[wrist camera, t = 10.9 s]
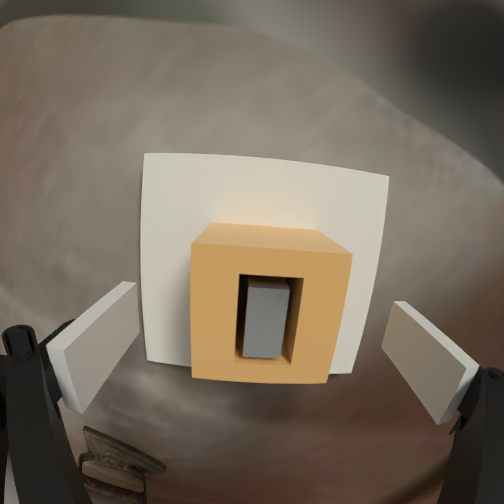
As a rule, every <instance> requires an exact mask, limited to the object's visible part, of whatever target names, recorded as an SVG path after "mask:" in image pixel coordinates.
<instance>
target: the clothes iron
mask: <svg viewBox="0 0 504 504" xmlns="http://www.w3.org/2000/svg"><path fill="white" fill-rule="evenodd" d="M83 431H84V435H85V440H86V443H87V446H88V450H89V453H82V454H80V456H79V461H78V470H79V473H80V475H81V478H82V480H83V483H84V485H85V487H86V488H88V489H90V490H93V491H96V492H99V493H101V494H104V495H107V496H111V497H114V498H117V499H120V500H123V501H127V502H130V503H134V504H146V499H147V495H146V482H145V476H144V475H157V474H160V473H163V471H165V470H166V466H165V465H163V464H162V463H161V462H159V461H158V460H156V459H154V458H153V457H151V456H149V455H147V454H145V453H143V452H141V451H139V450H137V449H135V448H134V447H131V446H129V445H127V444H125V443H123V442H121V441H119V440H117V439H114V438H112V437H110V436H108V435H105V434H103V433H101V432H98V431H96V430H94V429H92V428H89V427H87V426H84V428H83ZM87 460H93V462H94V463H97V464H99V465H102V466H105V467H109V468H112V469H115V470H119V471H123V472H128V473H130V474H131V475H132V476H134V477H136V478H138V479H140V480H142V481H143V483H144V492H142V493H139V492H135V491H131V490H128V489H124V488H121V487H118V486H114V485H111V484H108V483H105V482H102V481H100V480H97V479H94V478H91V477H89V476H86V475H84V474H83V473H82V463H83V462H84V461H87ZM143 474H144V475H143Z"/></svg>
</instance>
